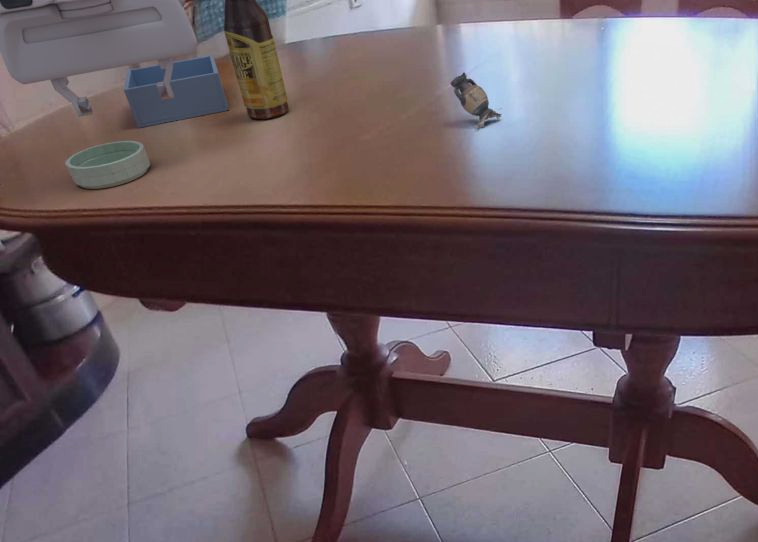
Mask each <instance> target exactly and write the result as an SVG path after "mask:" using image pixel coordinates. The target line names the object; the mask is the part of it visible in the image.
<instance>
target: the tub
mask: <svg viewBox="0 0 758 542" xmlns="http://www.w3.org/2000/svg"><path fill="white" fill-rule="evenodd" d="M172 63H173V71H172V76H171V81H170V85H171V88H172V90H173V94H174V98H172V99H167V100H161V97H160V93H159V92H158V89H157V83H158V82H163V80H164V74H165V69H166V68H165V69H161V68H160V65H159V64H154V65H148V66H142V67H137V68H131V69H127V71H126V75H125V81H124V87H123V92H124V95H125V97H126V101H127V103H128V105H129V107H130V111H131V113H132V116H133V118H134V121H135V123H136V125H137V128H138V129H140V128H145V127H151V126H156V125H160V124H161V125H162V124H166V123H171V122H170V121H172V122H177V121H182V120H187V119H192V118H196V117H201V116H206V115H212V114H216V113H223V112H227V110H228V111H230V106H229V103H228V100H227V97H226V93H225V88H224V86H223V82H222V80H221V76H220V73H219V70H218V67H217V63H216V60H215V57H214V54H211V55H205V56H199V57H194V58H188V59H181V60H176V61H172ZM176 120H177V121H176ZM165 122H166V123H165Z"/></svg>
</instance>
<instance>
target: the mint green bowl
mask: <svg viewBox="0 0 758 542" xmlns="http://www.w3.org/2000/svg"><path fill="white" fill-rule="evenodd" d="M145 147H146V146H145V145H144V144H143V143H142V142H141V141H135V140H119V141H111V142H106V143H102V144H101V143H100V144H97V145H94V146H91V147H87V148H85V149H83V150H80V151H78V152H76V153H74V154H72V155H71V156H70V157H69V158H67V159H66V160H65V163H64V165H65V167H66V169H67V171H68V173H69V175H70V178H71V179H72V182H73V183H74V184H75V185H76V186H79V187H81V188H83V189H89V190H98V189H99V190H100V189H101V190H102V189H107V188H113V187H116V186H120V185H121V186H122V185H124V184H126V183H127V184H128V183H129V182H132V181H134V180H137V179H138V178H141V177H142V176H144V175H145V174H147V172H148V170H149V167H150V166H151V160H150V158H149V155H148V152H147V150H146V148H145Z"/></svg>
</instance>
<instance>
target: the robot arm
mask: <svg viewBox="0 0 758 542" xmlns="http://www.w3.org/2000/svg"><path fill="white" fill-rule="evenodd" d="M186 1H187V0H0V55H1V57H2V61H3V63H4V65H5V67H6V69H7V72H8V74H9V76H10V77H11V78H12V79H13V80H15V81H16V82H18V83H19V84H21V85H29V84H35V83H40V82H46V81H50V82H51V85H52V87H53V89H54V90H55V92H57V93H58V94H59V95H61V96H62V97H63V98H64V99H66V100H67V101H68V102H69V103H71V104H72V106H73V108H74V111H75V113H76V115H77V116H78V117H79V118H81V117H86V116H91V115H93V109H92V106H91V105H90V104H89V103H90V102H89V101H90V100H89V99H88V97H87V96H80V97H79V96H78V95H77V94H76V93H75V92H74V91H72V90H71V88H69V87H68V85H69V83H70V81H69V79H68V77H74V76H78V75H84V74H90V73H94V72H99V71H105V70H110V69H111V70H112V69H116V68H123V67H128V66H132V65H138V64H143V63H149V62H153V61H157V62H158V65H160V68H161V69H165V68H166V69H165V74H164V80H163V82H158V83H157V89H158V92H159V93H160V97H161V100H167V99H172V98H174V94H173V90H172V88H171V85H170V81H171V76H172V71H173V63H172V62H173V60H172V58H175V57H181V56H186V55H191V54H194V53H195V52H196V49H197V47H198V45H199V44H198V43H199V42H198V39H197V37H196V33H195V31H194V28H193V26H192V24H191V20H190V18H189V16H188V14H187V12H186V10H185V8H184V7H185V4H186Z"/></svg>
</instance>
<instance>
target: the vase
mask: <svg viewBox="0 0 758 542" xmlns="http://www.w3.org/2000/svg"><path fill="white" fill-rule="evenodd" d="M468 74H470V72H468ZM450 86H451V87H453V88H454V89H453V93H454V95H455V96H456V98H457V99H458V100H459V102H460V105H461V107H462V108H463V109H464V111H465V112H467V113H468V114H469V115H472V116H476V117H478V118H479V121H478V123H477V124H476V125H473V126H472V127H469V129H470V130H472V129H473V128H474V130H475V132H477V130H478V129H480V128H485V122H486V120H488V119H493V118H496V119H497V120H499V119H501V117H502V115H503V113H499V112H497V111H499V110H502V109H503V108H502V107H500V108H496V110H497V111H496V110H494V109H492V108H490V107H489V105H490V102H489V98H488V95H487V93H486V91H485V90H484V88H483V87H482V86H480V85H478V84H477V83H476V82H475V80H473V79H472V78H467V75H466V72H463V73H462V74H461V75H458V76H455V78H453V79H452V80H451V81H450Z"/></svg>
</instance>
